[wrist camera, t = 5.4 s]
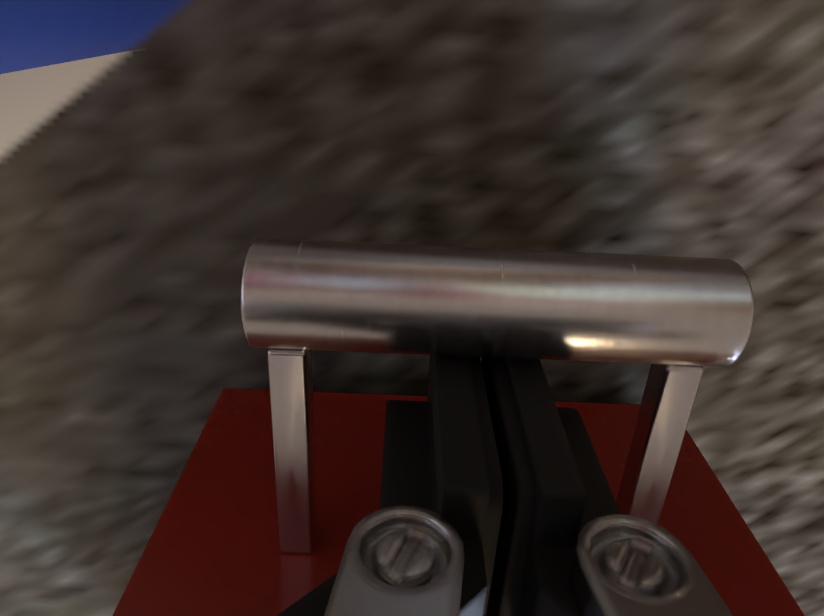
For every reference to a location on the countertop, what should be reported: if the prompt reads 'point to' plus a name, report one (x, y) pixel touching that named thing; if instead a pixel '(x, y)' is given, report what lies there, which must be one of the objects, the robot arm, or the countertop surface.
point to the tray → (365, 413)
